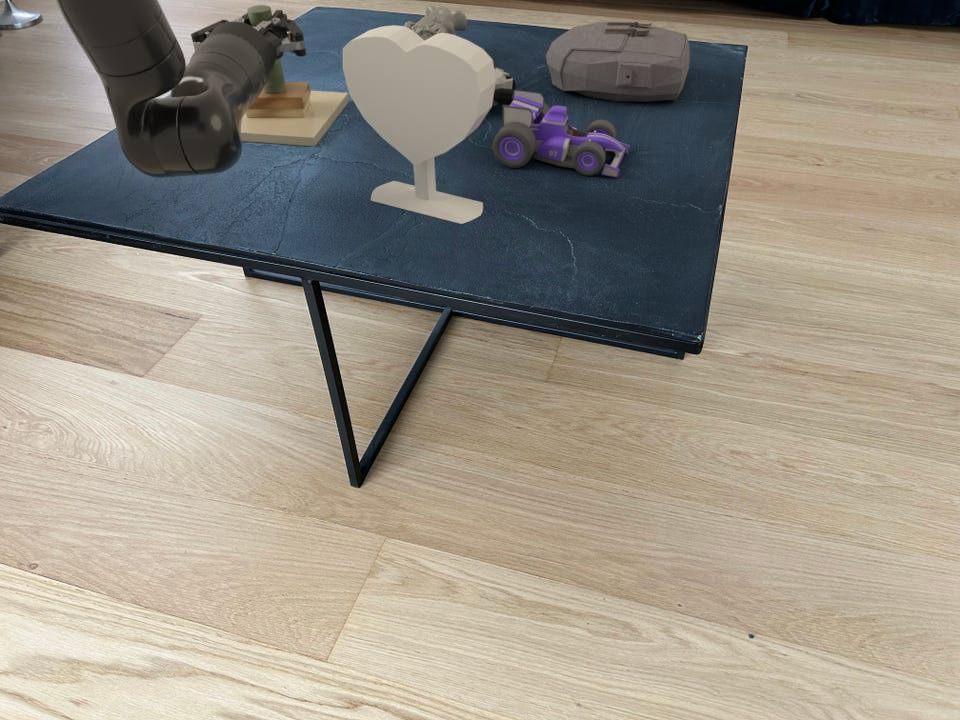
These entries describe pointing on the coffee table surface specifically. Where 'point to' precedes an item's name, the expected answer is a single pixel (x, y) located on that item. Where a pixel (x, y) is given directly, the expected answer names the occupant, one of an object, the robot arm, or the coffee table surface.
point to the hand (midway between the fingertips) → (267, 18)
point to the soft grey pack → (620, 61)
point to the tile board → (297, 122)
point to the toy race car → (554, 138)
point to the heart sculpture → (420, 107)
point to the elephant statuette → (438, 22)
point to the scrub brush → (277, 84)
